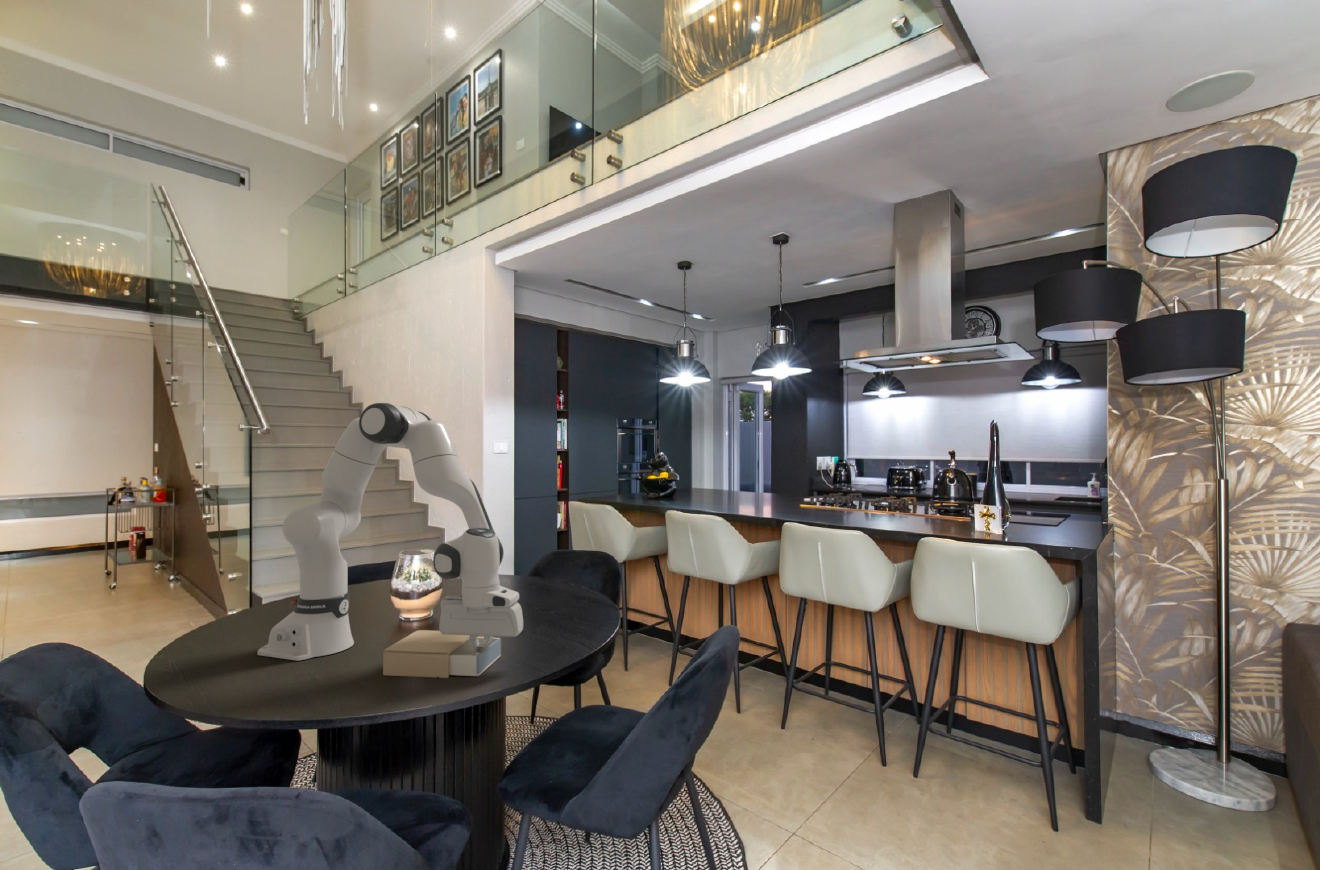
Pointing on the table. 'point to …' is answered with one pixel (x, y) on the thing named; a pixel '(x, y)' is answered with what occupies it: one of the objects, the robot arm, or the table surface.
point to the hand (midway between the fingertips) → (481, 652)
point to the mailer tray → (473, 658)
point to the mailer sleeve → (421, 654)
